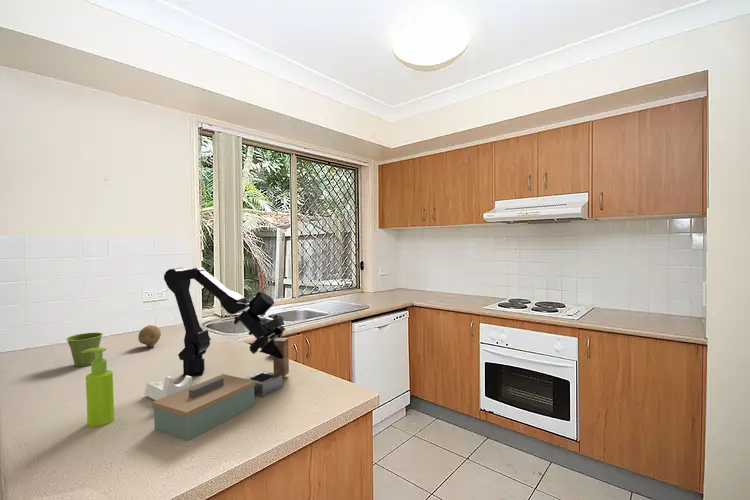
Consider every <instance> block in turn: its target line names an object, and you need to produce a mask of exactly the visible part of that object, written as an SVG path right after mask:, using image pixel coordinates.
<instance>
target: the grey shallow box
mask: <svg viewBox="0 0 750 500" xmlns="http://www.w3.org/2000/svg"><path fill="white" fill-rule="evenodd" d="M244 379H248V380H253V381H255V386H254V391H255V396H256V397H260V398H264V397H266V396H268V395H270V394H272V393H274V392H276V391H278V390H279V389H282V388H283V377H282V375H279V374H274V372H268V371H262V370H261V371H259V372H256V373H254V374H251V375H250V376H247V377H245V378H244ZM255 396H254V397H255Z"/></svg>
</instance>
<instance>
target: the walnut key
mask: <svg viewBox="0 0 750 500" xmlns="http://www.w3.org/2000/svg"><path fill="white" fill-rule="evenodd" d="M274 344H275V346H276V347H277V349H278V350H279V351H280V352H281V354H282V355H283V358H282V359H279V358H277V357H274V356H272V360H273V365H272V366H273V373H274V374H279V375H282V378H283V377H287V375H288V374H289V373H290V368H289V367H290V366H289V365H290V364H289V363H290V362H289V361H290V357H289V337H282V338H276V339H275V340H274Z"/></svg>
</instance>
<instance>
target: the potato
mask: <svg viewBox="0 0 750 500" xmlns="http://www.w3.org/2000/svg"><path fill="white" fill-rule="evenodd" d="M161 331H162V330H161V329H160V328H159V327H158V326H156V325H150V324H149V325H147V326H145V327H143V328H141V330H139V333H138V335H137V337H138V342H139V344H142V345H145V346H147V347H149V348H151V347H154V346H156V345H157V343H158V342H159V340H160V339H161V336H162V332H161Z"/></svg>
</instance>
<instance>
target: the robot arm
mask: <svg viewBox="0 0 750 500" xmlns="http://www.w3.org/2000/svg"><path fill="white" fill-rule="evenodd" d="M163 280H164V282H165V285H166V286H167V288H168V289H169V290H170V291H171V292H172V293H173V294H174V298H175V300H176V304H177V307H178V311H179V313H180V316H181V317H180V318H181V321H182V324H183V326H184V330H185V333H184V339H183V343H184V348H183V349H182V350H181V351H180V352H179V353H178V354H177V356H178V358H179V360H180V361H182V362H183V363H182V367H183V368H182V369H183V370H182V371H183V374H182V378H185V376H191V377H194V376H202V375H203V374H204V372H205V368H206V367H205V366H206V365H205V362H206V361H205V358H203V357H204V354H206V352H207V350H208V349H209V346H210V345H211V340H212V339H211V337H210V335H209V331H208V329H205V330H204V329H202V327H201V326H200V323H199V319H198V316H197V313H196V309H195V306H194V302H193V299H192V296H191V292H190V286H191V280H195V281H196V282H197V283H199V284H200V285H201V286H202V287H203V288H204V289H205V290H207V291H208V292H209V293H210V294H211V295H213V296H214V297H215V298H216V299H218V301H219V303H220V305H221V307H222V308H223V310H224V311H226V313H228V314H229V315H235V314H238V313H240V314H239V315H235V316H234V322H233V324H234V325H237V324H240V323H241V324H242V325H243V326H244V327H245V328H246V330H248V331H249V332H248V335H249V336H253V337H254V338H255V340H254V341H253V342H252V343H251V344H250V345H249V351H250V353H252V354H253V355H255V354H257V352H259V353H262V354H265V355H269V356H271V357H273V356H274V357H277V358H279V359H282V358H283V355H282V354H281V352H280V351H279V350H278V349H277V347H276V346H275V344H274V340H275V339H276V338H283V334H284V332H285V331H286V328H285V327H284V326H283V325H285V322H284V319H285V318H284V317H283V316H282V315H280V314H279V313H277V314H275V315H273V317H272V319H270V320H269V321H268V320H267V319H262V318H261V317H260V316H264V315H265V314H266V313H267V312H268V311H269V310H270V309H271V308H272V306H274V304H275V301H274V298H272V297H271V296H270V295H269V294H267V293H264V292H263V291H258V292H257V293H256V294H255V296H253V298H252V299H249V298H248V299H247V298H246V297H244V296H243V295H241V294H240V293H238V292H236V291H233V290H230V289H229V288H228V287H226V286H225V285H224V284H222V283H221V282H220V281H218V279H216V278H215V277H214V276H213V275H212V274H210V273H209V272H208V271H207V270H206V269H205V268H204V267H194V268H191V269H187V268H185V267H178V268H177V267H176V268H169V269H167V270H166V271H165V273H164V274H163ZM246 309H247V310H246ZM259 349H260V350H259Z"/></svg>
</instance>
